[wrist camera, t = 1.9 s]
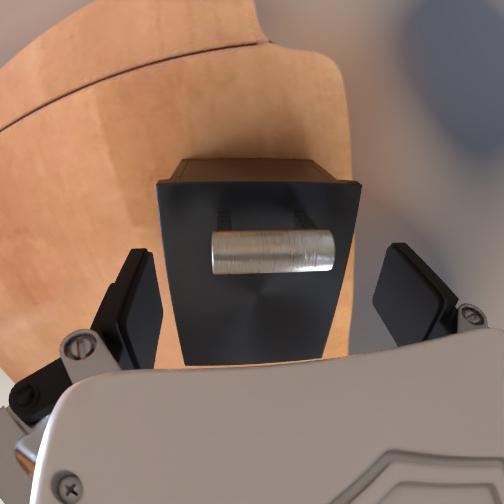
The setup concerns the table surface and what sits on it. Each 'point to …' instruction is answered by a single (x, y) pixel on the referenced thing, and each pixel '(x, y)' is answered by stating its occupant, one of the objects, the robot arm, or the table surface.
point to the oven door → (255, 264)
